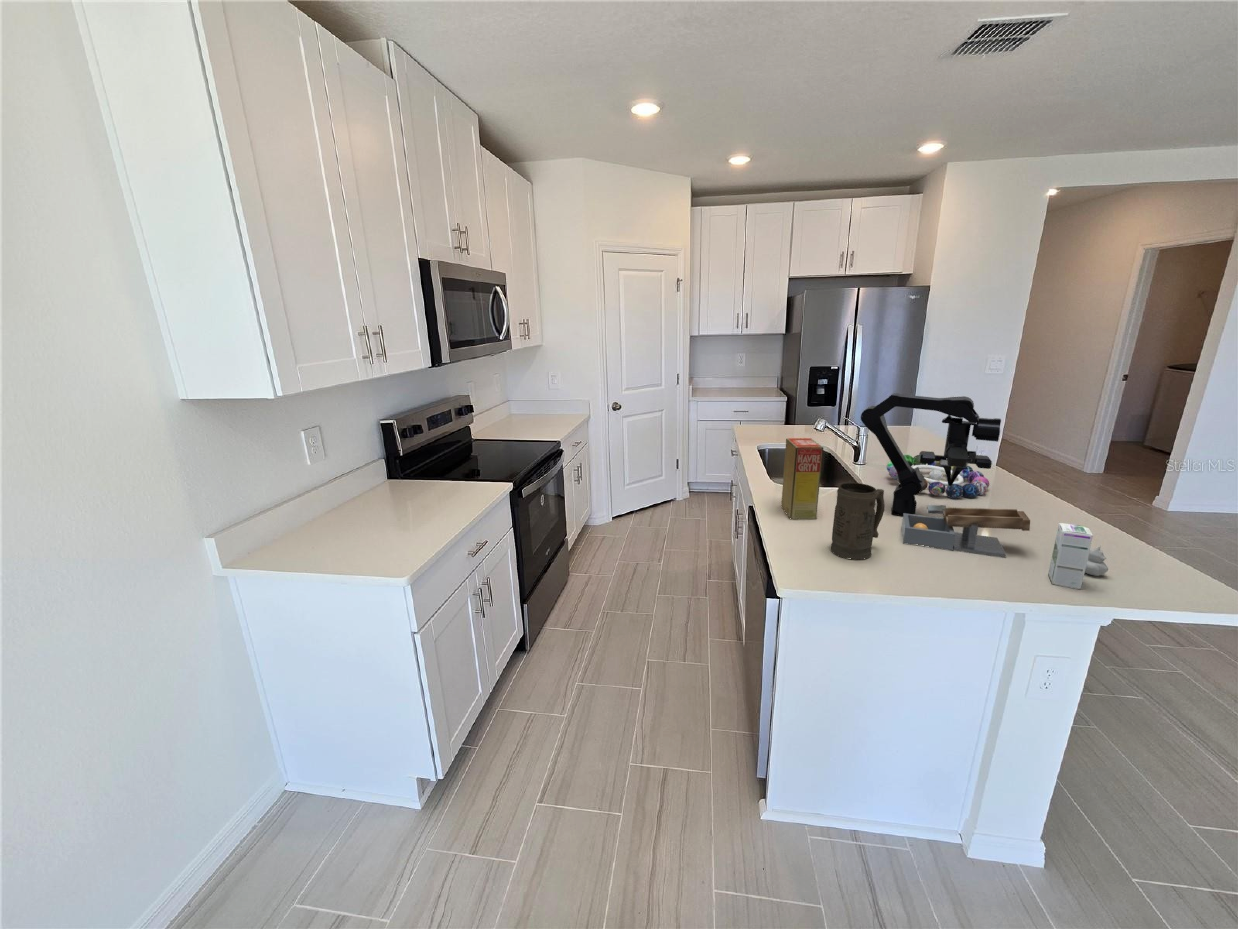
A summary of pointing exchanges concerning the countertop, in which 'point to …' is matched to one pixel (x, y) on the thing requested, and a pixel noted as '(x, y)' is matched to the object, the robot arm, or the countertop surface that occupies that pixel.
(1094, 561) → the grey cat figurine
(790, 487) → the food packaging
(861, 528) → the beer stein
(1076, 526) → the syrup box
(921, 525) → the ball
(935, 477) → the decorated egg ring holder
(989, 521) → the tipping lever
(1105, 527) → the countertop surface
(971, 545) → the lever stand
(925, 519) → the grey open tray
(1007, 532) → the countertop surface
